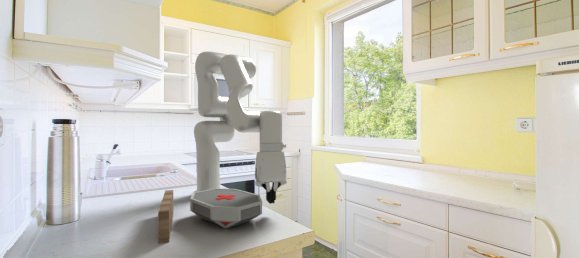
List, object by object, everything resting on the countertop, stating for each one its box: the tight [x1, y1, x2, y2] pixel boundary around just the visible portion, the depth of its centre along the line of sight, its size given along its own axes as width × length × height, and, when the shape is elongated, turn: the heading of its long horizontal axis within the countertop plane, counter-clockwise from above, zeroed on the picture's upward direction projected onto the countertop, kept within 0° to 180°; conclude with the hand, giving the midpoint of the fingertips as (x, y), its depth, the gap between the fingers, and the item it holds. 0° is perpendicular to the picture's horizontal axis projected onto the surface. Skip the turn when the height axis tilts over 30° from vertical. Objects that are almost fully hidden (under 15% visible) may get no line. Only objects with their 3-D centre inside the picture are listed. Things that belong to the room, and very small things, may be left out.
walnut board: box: [157, 189, 174, 244], centre depth 87 cm, size 25×2×8 cm, turn 19°
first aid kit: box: [189, 187, 263, 229], centre depth 93 cm, size 18×8×25 cm
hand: (271, 202), depth 97 cm, fingers closed
